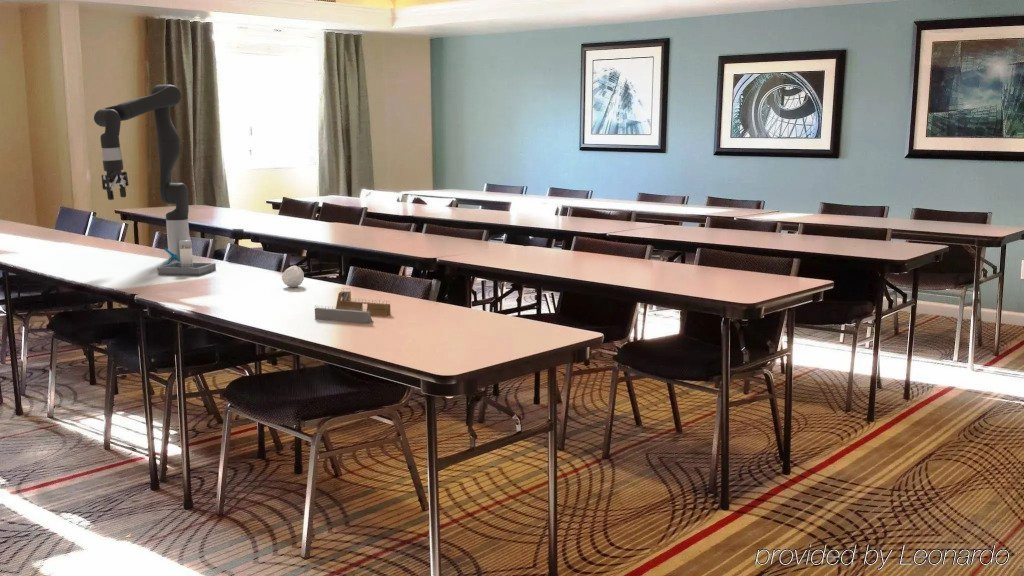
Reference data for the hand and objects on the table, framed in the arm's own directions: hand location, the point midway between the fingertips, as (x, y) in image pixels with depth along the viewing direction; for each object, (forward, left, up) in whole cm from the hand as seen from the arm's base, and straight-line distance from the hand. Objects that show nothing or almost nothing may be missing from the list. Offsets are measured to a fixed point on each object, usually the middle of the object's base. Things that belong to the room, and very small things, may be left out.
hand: (117, 198), depth 387 cm
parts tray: (+8, +34, -29) cm, 45 cm away
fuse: (+8, +34, -28) cm, 45 cm away
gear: (-9, +18, -29) cm, 36 cm away
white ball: (+32, +90, -29) cm, 100 cm away
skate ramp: (+73, +131, -30) cm, 153 cm away
